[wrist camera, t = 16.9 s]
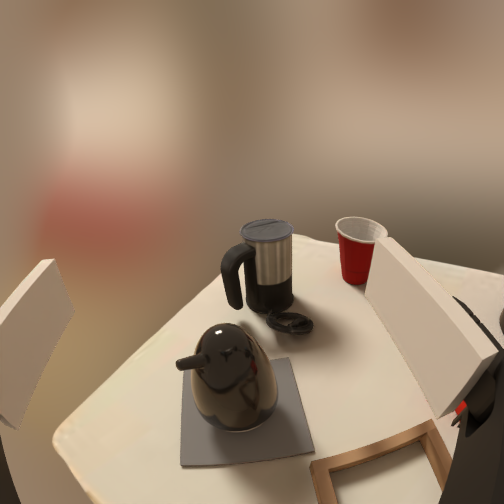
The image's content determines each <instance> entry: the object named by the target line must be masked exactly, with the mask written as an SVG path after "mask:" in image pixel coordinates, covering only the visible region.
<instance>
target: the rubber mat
mask: <svg viewBox="0 0 504 504" xmlns="http://www.w3.org/2000/svg"><path fill="white" fill-rule="evenodd" d="M269 361H270V363H271V365H272V367H273V370H274V373H275V376H276V380H277V384H278V392H279V397H278V403H277V406H276V409H275V411H274V412H273V414H272V415H271V416H270V417H269V418H268V419H267V420H266V421H265V422H264V423H262V424H261V425H260V426H258V427H256V428H254V429H252V430H249V431H245V432H229V431H225V430H221V429H218V428H216V427H214V426H212V425H210V424H209V423H207V422H206V421H205V420H204V419H203V418H202V417H201V415H200V414H199V412H198V410H197V408H196V406H195V403H194V399H193V394H192V388H191V370H184V374H183V391H182V413H181V449H180V465H181V466H210V465H228V464H240V463H250V462H259V461H266V460H273V459H279V458H285V457H291V456H296V455H301V454H306V453H310V452H314V447H313V444H312V440H311V436H310V433H309V429H308V425H307V422H306V418H305V415H304V411H303V407H302V404H301V400H300V396H299V393H298V389H297V386H296V382H295V378H294V375H293V371H292V368H291V364H290V361H289V357H287V358H281V359H275V360H269Z"/></svg>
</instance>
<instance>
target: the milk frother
mask: <svg viewBox="0 0 504 504" xmlns="http://www.w3.org/2000/svg"><path fill="white" fill-rule="evenodd" d="M293 231H294V228H293V226H292V225H291V224H289V223H288V222H285V221H282V220H276V219H262V220H256V221H253V222H250V223H247V224H245V225H243V226H242V227H241V229H240V234H241V236H242V241H243V243H240V244H238V245H236V246H234V247H232V248H231V249H229V250H228V252H226V254H225V255H224V257H223V259H222V262H221V274H222V279H223V283H224V288H225V292H226V296H227V300H228V303H229V305H230V306H231V307H233V308H234V309H236V310H239V309H241V308H243V300H242V293H241V287H240V280H239V275H238V270H239V268H240V266H241V264H242V263H243V262H244V274H245V286H246V303H247V305H248V306H249V307H250V308H251V309H252V310H254V311H256V312H259V313H265V314H268V315H267V318H266V323H267V325H268V326H269V327H271V328H272V329H274V330H277V331H280V332H283V333H288V334H305V333H309V332H310V331H311V330H312V329H313V326H314V325H313V322H312V321H311V320H310V317H306V316H304V315H301V314H298V313H289V312H287V313H286V312H283V313H278V312H281V311H283V310H285V309H287V308H288V307H289V306H290V305H291V304H292V302H293V298H294V297H293V294H292V233H293ZM273 313H275V314H273ZM271 314H272V315H271ZM279 318H294V319H296V320H295V321H293V322H292V323H291V324H288V326H284V325H281V324H279V323H277V322H276V321H275V320H276V319H279Z"/></svg>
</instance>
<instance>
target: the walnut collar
mask: <svg viewBox="0 0 504 504" xmlns="http://www.w3.org/2000/svg"><path fill="white" fill-rule="evenodd" d="M418 440H420V442H421V444H422V446H423V449H424V451H425V453H426V455H427V457H428V460H429V462H430V464H431V466H432V469H433V471H434V473H435V476H436V478H437V480H438V483H439V485H440V487H441V490H442V492H443V490H444V487H445V484H446V481H447V477H448V474H449V471H450V467H451V464H452V458H451V456H450V454H449V452H448V450H447V448H446V446H445V444H444V442H443V440H442V438H441V436H440V434H439V432H438V430H437V428H436V426H435V424H434V422H433V420H432V419H430V420H428V421H426V422H424V423H422V424H419V425H417V426H415V427H413V428H411V429H408V430H406V431H404V432H401V433H399V434H397V435H394V436H392V437H389V438H387V439H384V440H381V441H379V442H376V443H373V444H370V445H367V446H364V447H361V448H358V449H355V450H352V451H349V452H345V453H342V454H339V455H335V456H331V457H327V458H324V459H319V460H315V461H311V464H310V467H309V468H310V471H311V475H312V479H313V483H314V487H315V491H316V495H317V499H318V503H319V504H338V503H337V499H336V496H335V492H334V489H333V485H332V482H331V478H330V475H329V473H332V472H335V471H339V470H342V469H346V468H349V467H352V466H355V465H358V464H361V463H364V462H367V461H370V460H373V459H376V458H378V457H381V456H383V455H386V454H389V453H391V452H393V451H396V450H398V449H401V448H403V447H405V446H407V445H410V444H412V443H414V442H416V441H418Z"/></svg>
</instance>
